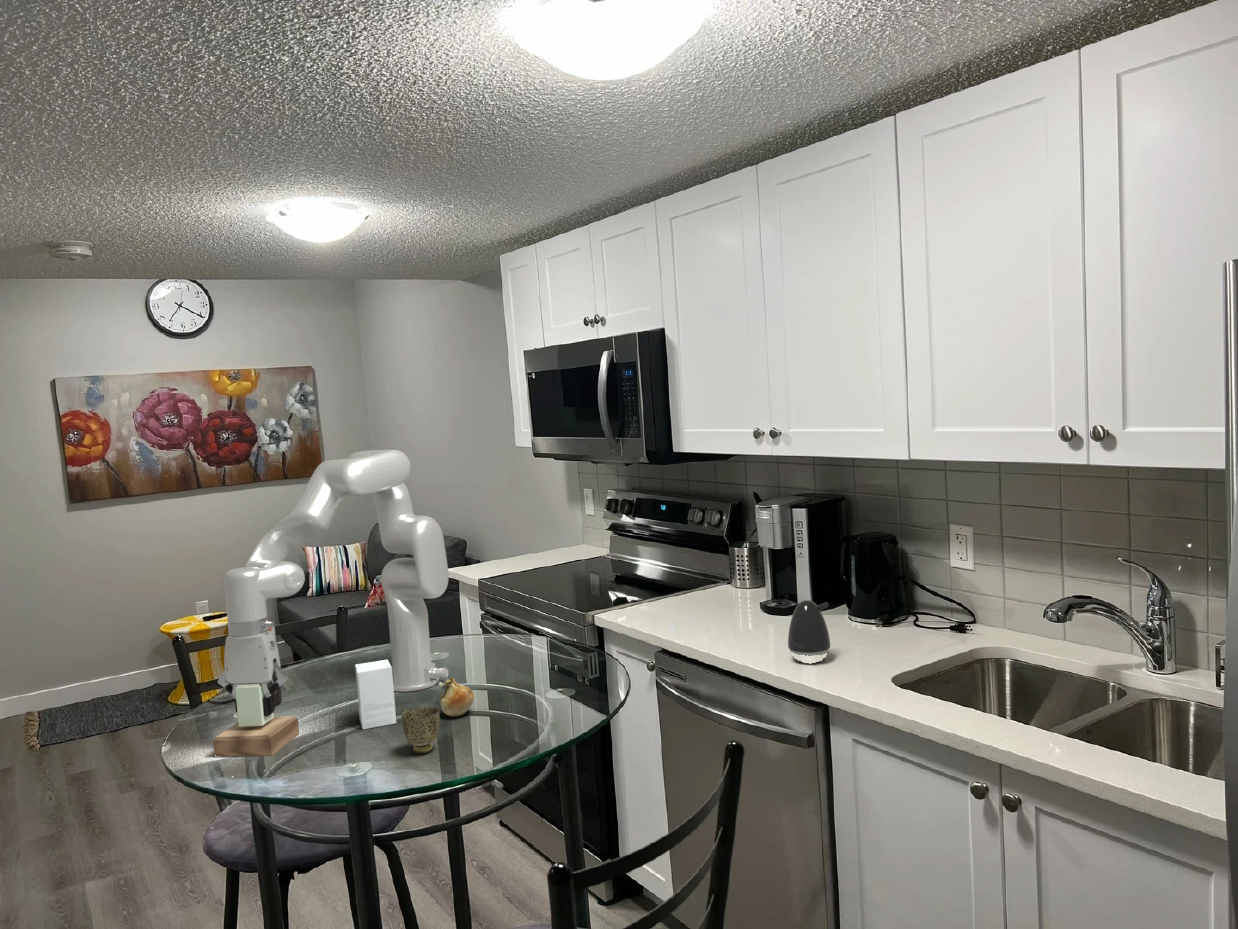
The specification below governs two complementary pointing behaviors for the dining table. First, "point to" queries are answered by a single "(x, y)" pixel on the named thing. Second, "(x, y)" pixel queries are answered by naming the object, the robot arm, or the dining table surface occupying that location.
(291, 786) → the dining table surface
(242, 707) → the sage block
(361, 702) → the supplement box
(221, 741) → the base block
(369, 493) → the robot arm
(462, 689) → the onion
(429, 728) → the cup
